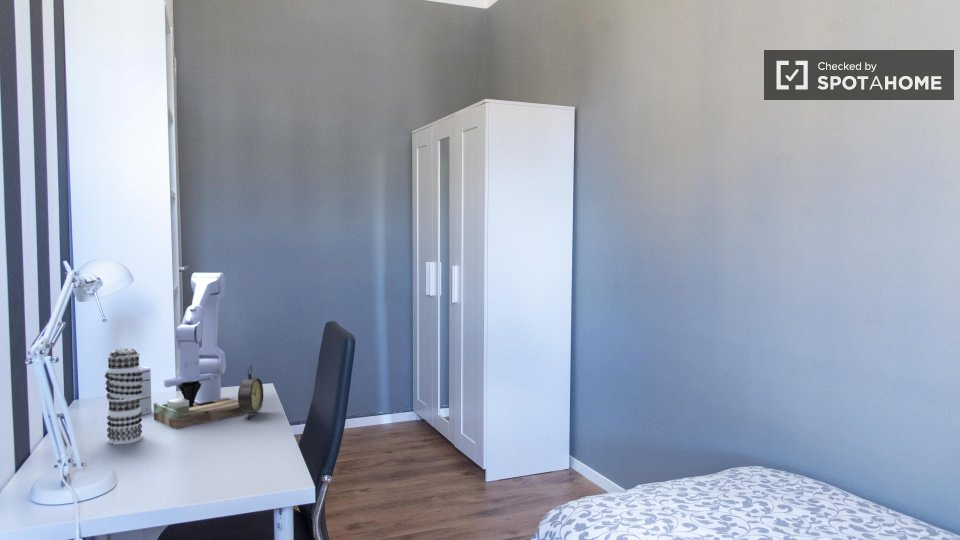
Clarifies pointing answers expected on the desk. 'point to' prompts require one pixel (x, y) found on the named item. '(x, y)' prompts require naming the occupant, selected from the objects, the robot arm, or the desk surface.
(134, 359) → the decorative candle
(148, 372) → the syrup box
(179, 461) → the desk surface
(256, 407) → the alarm clock
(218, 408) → the trap board
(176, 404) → the white block
